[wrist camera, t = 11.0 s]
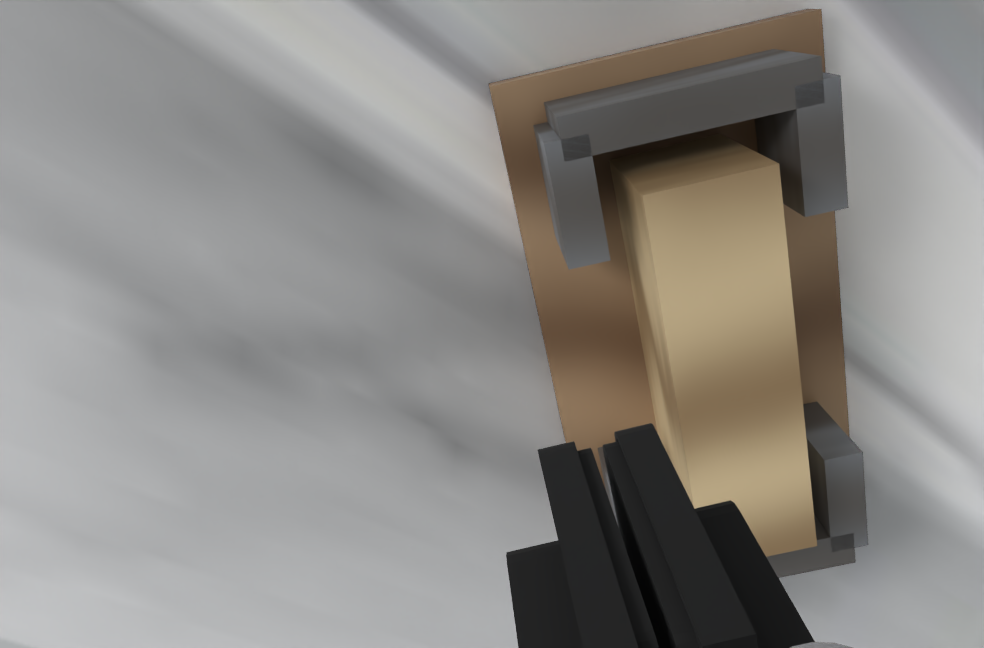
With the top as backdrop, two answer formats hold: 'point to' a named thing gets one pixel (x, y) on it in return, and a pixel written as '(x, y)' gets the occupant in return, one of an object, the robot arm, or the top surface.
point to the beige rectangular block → (720, 329)
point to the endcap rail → (600, 247)
